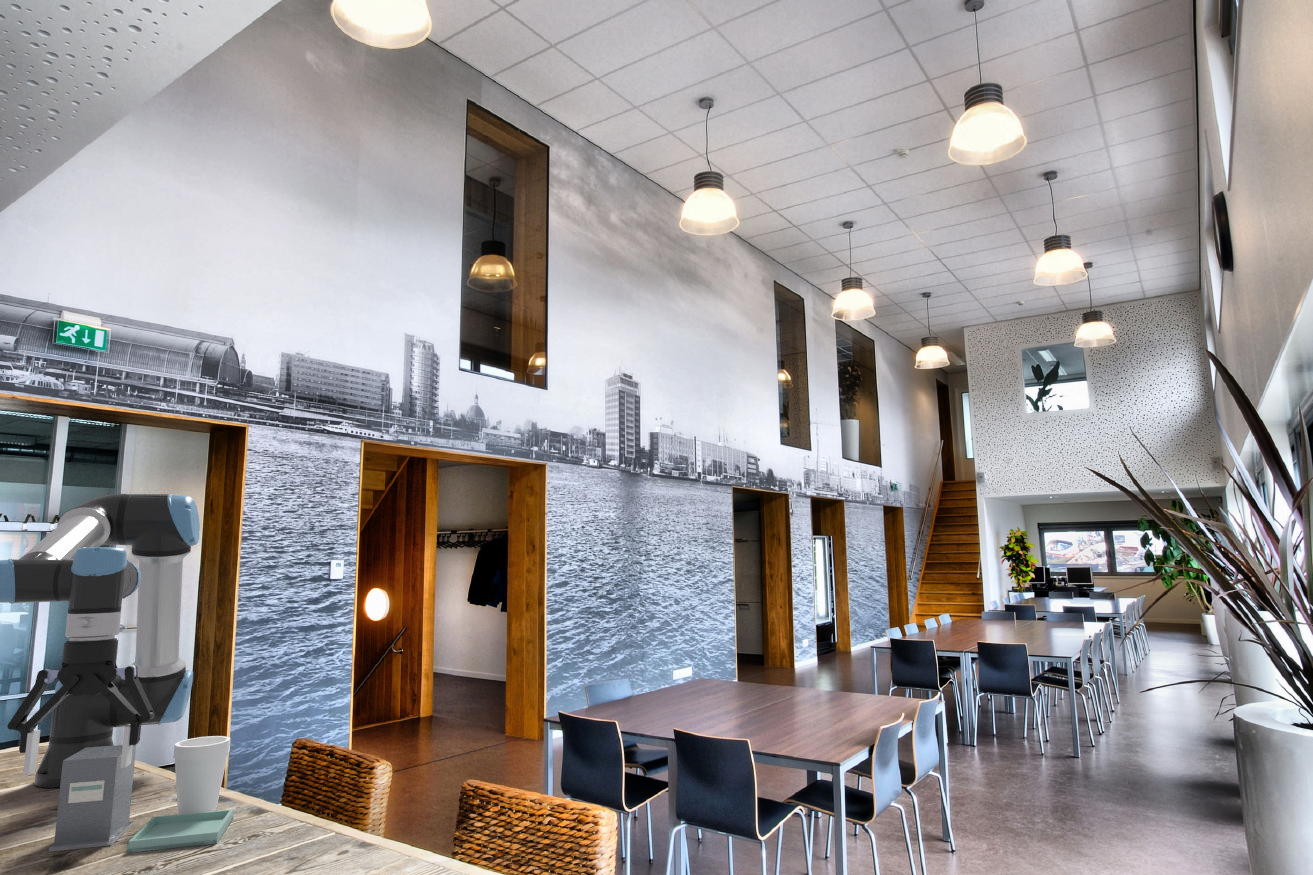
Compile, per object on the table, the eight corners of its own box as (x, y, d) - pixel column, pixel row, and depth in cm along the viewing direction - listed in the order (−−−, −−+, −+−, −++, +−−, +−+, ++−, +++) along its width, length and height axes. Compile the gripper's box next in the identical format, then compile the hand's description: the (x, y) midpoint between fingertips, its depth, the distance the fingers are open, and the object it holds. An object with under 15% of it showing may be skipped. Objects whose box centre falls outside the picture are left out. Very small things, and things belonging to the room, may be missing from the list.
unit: (75, 830, 139) (83, 747, 141) (132, 824, 142) (140, 743, 144) (48, 851, 129) (58, 761, 131) (111, 845, 131) (119, 756, 134)
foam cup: (157, 816, 146) (163, 744, 148) (200, 802, 155) (206, 734, 157) (193, 821, 143) (199, 748, 145) (236, 806, 152) (241, 737, 154)
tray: (152, 827, 140) (153, 816, 140) (233, 819, 144) (233, 808, 144) (127, 852, 128) (128, 841, 128) (216, 843, 132) (217, 831, 132)
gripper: (-8, 643, 124) (-25, 782, 121) (169, 637, 132) (157, 767, 128) (14, 639, 131) (-2, 770, 128) (181, 633, 139) (170, 757, 135)
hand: (78, 769), depth 128 cm, fingers open, 13 cm apart
